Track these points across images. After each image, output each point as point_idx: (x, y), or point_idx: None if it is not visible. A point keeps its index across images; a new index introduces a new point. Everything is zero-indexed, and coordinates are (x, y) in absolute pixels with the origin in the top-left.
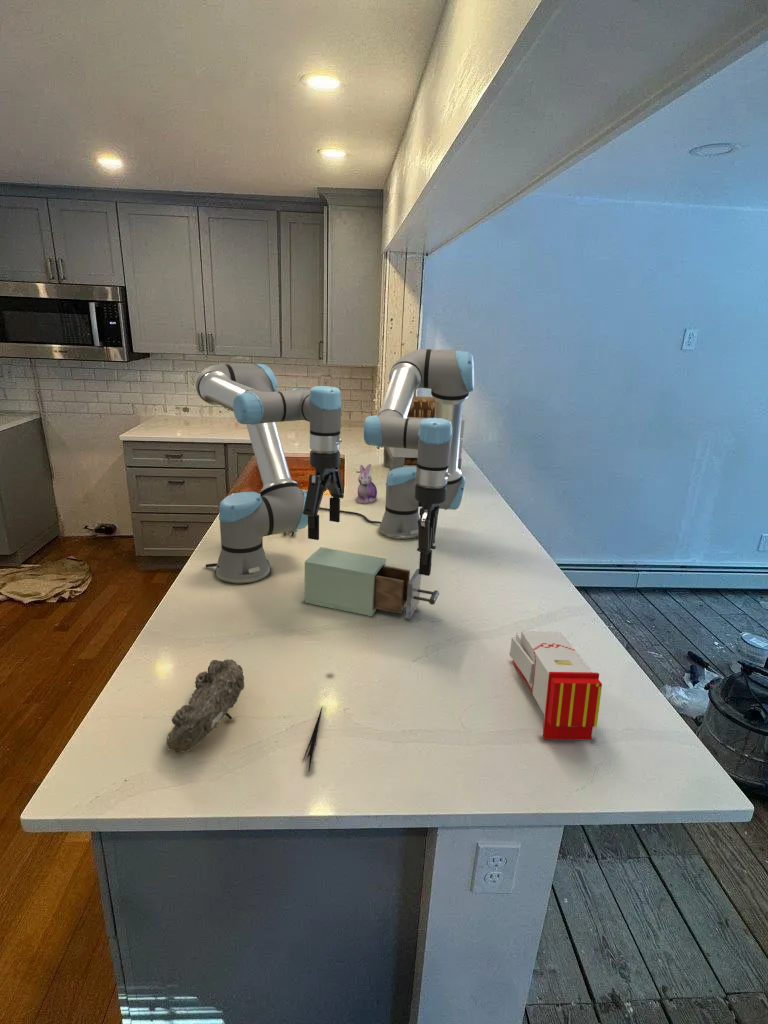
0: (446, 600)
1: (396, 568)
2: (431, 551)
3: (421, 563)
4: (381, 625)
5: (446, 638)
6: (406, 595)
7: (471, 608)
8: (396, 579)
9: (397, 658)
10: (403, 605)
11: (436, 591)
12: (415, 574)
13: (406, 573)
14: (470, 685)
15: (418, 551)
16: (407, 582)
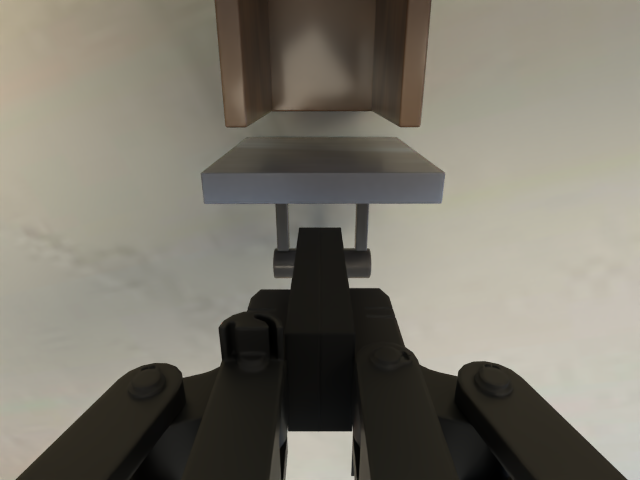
0: (476, 244)
1: (416, 13)
2: (312, 430)
3: (257, 295)
4: (177, 44)
5: (211, 295)
6: (374, 105)
7: (439, 332)
8: (235, 74)
9: (6, 177)
10: (313, 107)
11: (358, 271)
12: (348, 185)
13: (397, 104)
14: (22, 389)
15: (135, 369)
16: (385, 111)
